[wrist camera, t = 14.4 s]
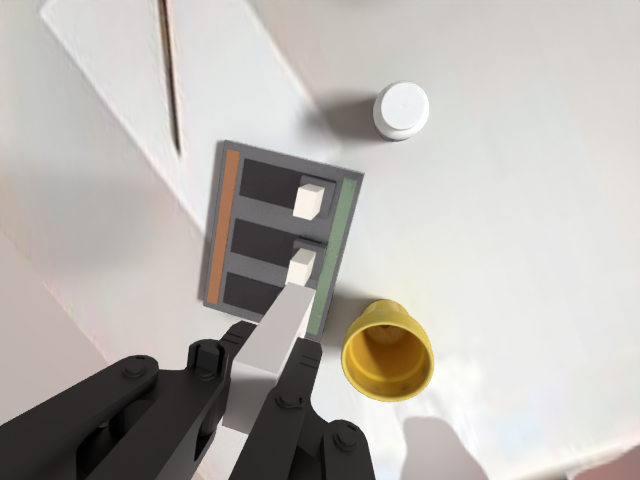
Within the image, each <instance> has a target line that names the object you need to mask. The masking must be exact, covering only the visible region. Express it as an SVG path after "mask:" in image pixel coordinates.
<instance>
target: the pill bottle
mask: <svg viewBox="0 0 640 480" xmlns="http://www.w3.org/2000/svg"><path fill="white" fill-rule="evenodd" d="M428 114H429V102H428V98H427V96H426V94H425V92H424V91H423V89H422V88H421V87H419V86H418V85H417V84H415V83H412V82H408V81H399V82H395V83H392V84H390V85H389V86H387V87H386V88H385V89H383V90H382V91H381V93H380V94H379V95H378V97H377V99H376V101H375V104H374V108H373V119H374V124H375V128H376V130H377V132H378V133H379V134H380V136H382V137H383V138H384V139H386V140H388V141H392V142H399V141H403V140H406V139H408V138H410V137H411V136H413V135H415V134H416V133H417V132H419V131H420V130H421V128H422V127H423V126H424V124H425V122H426V120H427V118H428Z"/></svg>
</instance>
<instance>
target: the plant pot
mask: <svg viewBox="0 0 640 480" xmlns="http://www.w3.org/2000/svg"><path fill="white" fill-rule="evenodd" d="M383 325H387V326H383ZM341 364H342V369H343V371H344V374H345V376H346V378H347V379H348V381H349V382H350V383H351V385H352V386H353V387H354V388H355V389H356V390H358V391H359V392H360V393H362V394H364V395H365V396H367V397H369V398H372V399H375V400H378V401H383V402H398V401H404V400H407V399H410V398H412V397H414V396H416V395H417V394H419V393H420V392H421V391H422V390H424V389H425V387H426V386H427V385H428V383H429V382H430V380H431V377H432V374H433V371H434V356H433V352H432V348H431V344H430V341H429V339H428V336H427V334H426V332H425V330H424V329H423V327H422V326H421V325H420V324H419V323H418V322H417V321H416V320H415V319H413V318H412V317H410V315H409V314H408V312H407V311H406V310H405V308H404V307H403V306H401V305H400V304H398V303H396V302H394V301H391V300H379V301H376V302H373V303H371V304H370V305H369V306H368V307H367V308H366V309H365V310H364V312H363V314H362V315H361V316H360V317H358V318H357V319H356V320H355V321H354V322H353V323H352V324H351V325H350V327H349V328H348V330H347V333H346V335H345V339H344V342H343V347H342V352H341Z"/></svg>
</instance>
